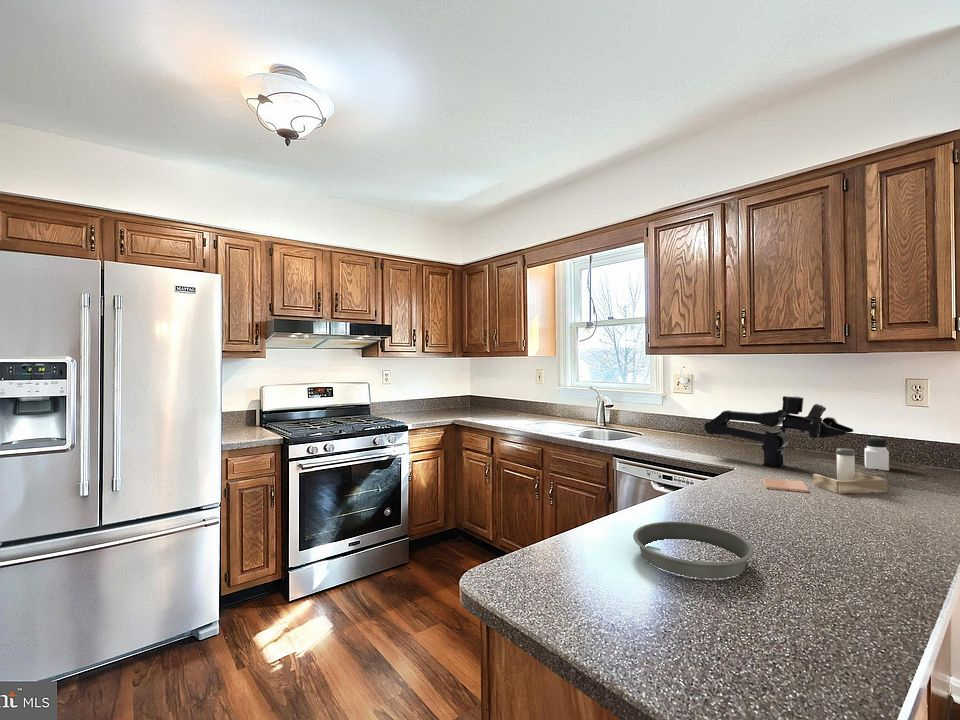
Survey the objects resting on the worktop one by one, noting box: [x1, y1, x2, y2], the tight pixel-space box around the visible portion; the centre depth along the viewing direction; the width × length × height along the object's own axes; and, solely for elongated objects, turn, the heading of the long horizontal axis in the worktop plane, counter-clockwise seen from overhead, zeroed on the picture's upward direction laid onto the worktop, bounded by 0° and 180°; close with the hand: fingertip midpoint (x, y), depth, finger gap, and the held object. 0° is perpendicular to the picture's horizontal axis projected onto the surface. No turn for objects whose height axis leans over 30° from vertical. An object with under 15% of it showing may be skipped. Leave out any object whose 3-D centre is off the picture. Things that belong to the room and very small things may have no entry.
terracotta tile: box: [762, 477, 810, 493], centre depth 162 cm, size 12×12×1 cm
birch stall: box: [812, 471, 889, 495], centre depth 157 cm, size 11×17×4 cm, turn 96°
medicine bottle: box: [864, 436, 891, 472], centre depth 185 cm, size 7×7×12 cm
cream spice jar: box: [835, 447, 856, 481], centre depth 159 cm, size 5×5×13 cm
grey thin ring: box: [632, 521, 754, 579], centre depth 105 cm, size 25×25×4 cm
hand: (849, 431), depth 172 cm, fingers open, 9 cm apart
